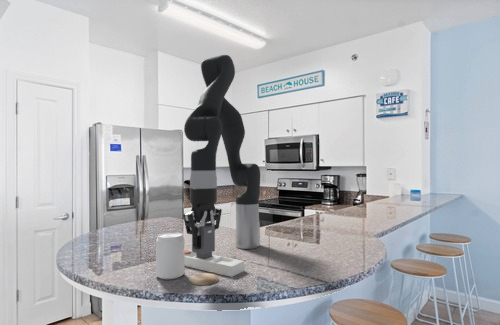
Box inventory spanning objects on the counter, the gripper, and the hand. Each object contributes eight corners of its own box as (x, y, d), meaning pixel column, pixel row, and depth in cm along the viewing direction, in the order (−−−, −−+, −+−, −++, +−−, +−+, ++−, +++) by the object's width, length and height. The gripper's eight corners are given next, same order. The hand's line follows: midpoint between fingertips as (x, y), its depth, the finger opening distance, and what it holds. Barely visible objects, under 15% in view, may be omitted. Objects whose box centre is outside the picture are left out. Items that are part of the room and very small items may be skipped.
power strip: (183, 257, 112) (183, 240, 112) (244, 270, 97) (244, 251, 98) (169, 262, 107) (169, 244, 107) (231, 276, 92) (231, 256, 92)
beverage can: (186, 271, 98) (186, 231, 98) (181, 280, 90) (181, 237, 90) (160, 271, 97) (160, 232, 98) (152, 280, 89) (152, 238, 89)
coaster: (203, 273, 95) (203, 271, 95) (224, 278, 91) (224, 276, 91) (183, 281, 88) (183, 279, 88) (205, 287, 84) (205, 285, 84)
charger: (202, 248, 93) (203, 224, 93) (215, 250, 90) (215, 226, 90) (192, 251, 89) (192, 226, 89) (204, 254, 87) (204, 228, 87)
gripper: (210, 185, 98) (210, 240, 98) (175, 187, 86) (175, 250, 86) (229, 185, 94) (229, 243, 94) (195, 188, 82) (195, 254, 82)
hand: (203, 246), depth 90 cm, fingers closed on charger, 4 cm apart
